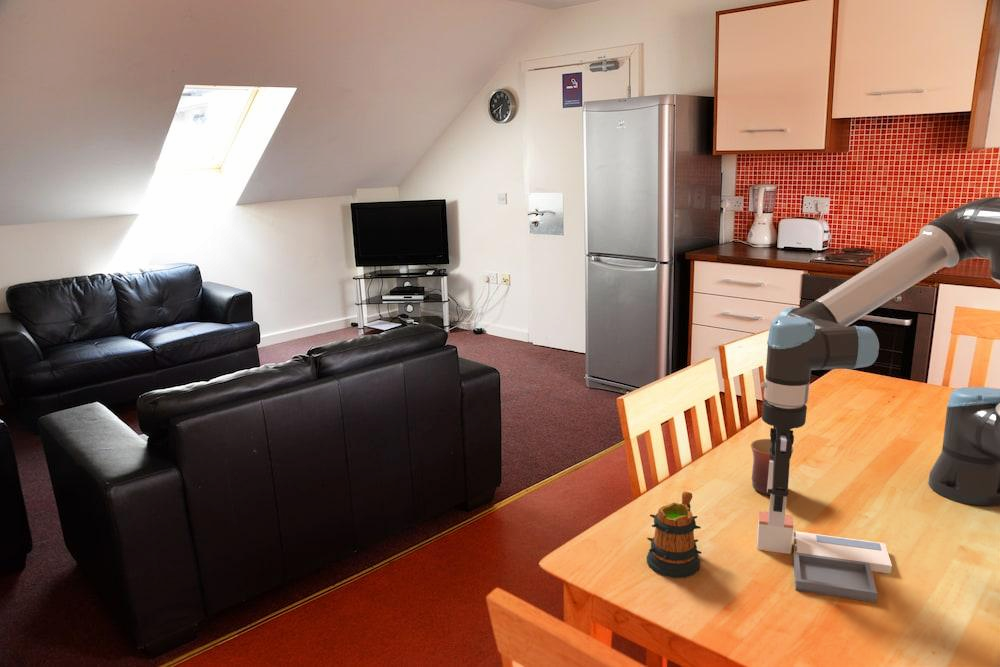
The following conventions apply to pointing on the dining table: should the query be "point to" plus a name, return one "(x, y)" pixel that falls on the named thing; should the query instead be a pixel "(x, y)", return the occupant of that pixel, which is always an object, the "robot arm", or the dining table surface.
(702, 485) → the dining table surface
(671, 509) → the mug
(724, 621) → the dining table surface
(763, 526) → the block
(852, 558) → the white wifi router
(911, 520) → the dining table surface
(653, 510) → the dining table surface
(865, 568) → the tray
